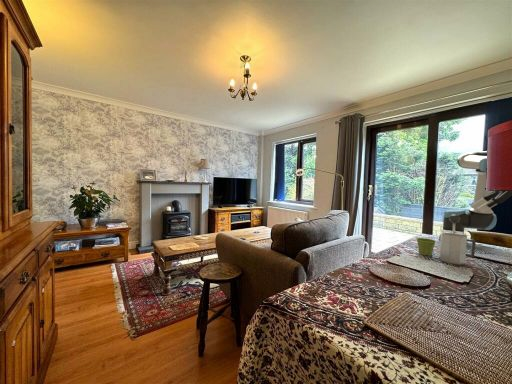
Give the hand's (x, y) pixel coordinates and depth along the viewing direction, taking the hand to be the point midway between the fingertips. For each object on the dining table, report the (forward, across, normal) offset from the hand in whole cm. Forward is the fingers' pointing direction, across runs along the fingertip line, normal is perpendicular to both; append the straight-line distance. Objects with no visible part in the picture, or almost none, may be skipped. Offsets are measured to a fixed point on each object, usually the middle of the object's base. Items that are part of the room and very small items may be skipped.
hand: (476, 209), depth 113 cm
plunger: (+23, 0, +12) cm, 26 cm away
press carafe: (+25, 0, +16) cm, 30 cm away
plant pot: (+34, -5, +7) cm, 36 cm away
